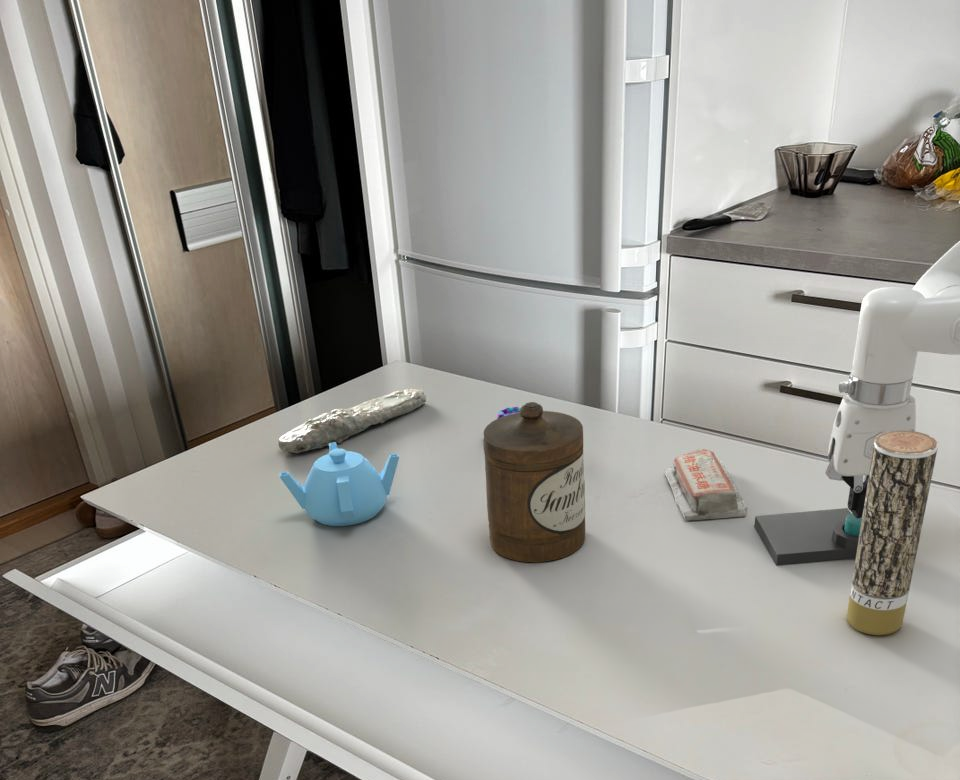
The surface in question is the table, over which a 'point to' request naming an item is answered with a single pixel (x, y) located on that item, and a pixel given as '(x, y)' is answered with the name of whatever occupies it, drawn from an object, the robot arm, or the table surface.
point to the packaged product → (704, 487)
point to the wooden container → (535, 484)
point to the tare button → (852, 525)
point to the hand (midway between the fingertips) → (858, 513)
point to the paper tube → (890, 530)
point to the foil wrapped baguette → (349, 421)
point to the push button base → (807, 536)
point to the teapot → (343, 487)
